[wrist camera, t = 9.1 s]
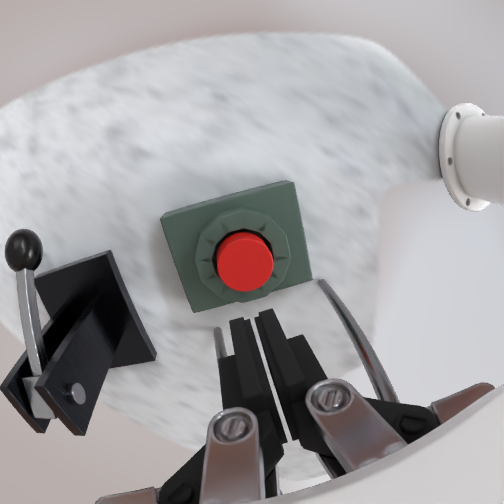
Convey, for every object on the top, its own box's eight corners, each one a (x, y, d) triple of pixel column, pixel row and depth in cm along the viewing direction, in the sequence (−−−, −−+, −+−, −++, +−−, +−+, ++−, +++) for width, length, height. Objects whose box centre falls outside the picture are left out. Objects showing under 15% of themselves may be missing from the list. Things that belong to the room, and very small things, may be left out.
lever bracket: (38, 274, 21) (-41, 347, 9) (110, 249, 22) (33, 332, 10) (86, 365, 25) (47, 456, 13) (157, 353, 25) (137, 463, 13)
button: (261, 226, 19) (266, 232, 18) (273, 273, 20) (278, 283, 19) (210, 240, 19) (210, 247, 17) (224, 287, 20) (226, 298, 19)
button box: (286, 180, 22) (301, 183, 18) (304, 270, 25) (320, 289, 21) (164, 213, 22) (154, 223, 18) (194, 301, 24) (192, 325, 20)
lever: (23, 242, 17) (-3, 231, 14) (50, 230, 17) (23, 216, 14) (52, 409, 14) (26, 419, 11) (83, 408, 14) (57, 421, 11)
